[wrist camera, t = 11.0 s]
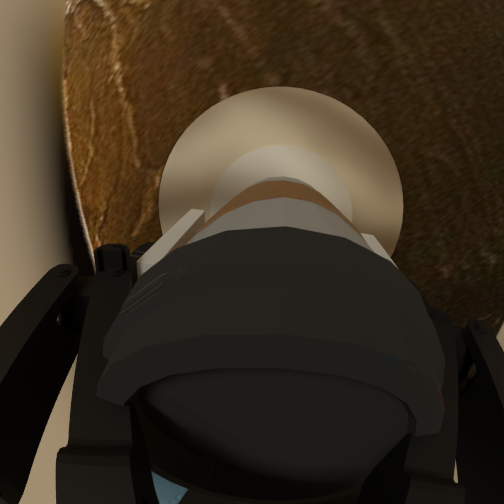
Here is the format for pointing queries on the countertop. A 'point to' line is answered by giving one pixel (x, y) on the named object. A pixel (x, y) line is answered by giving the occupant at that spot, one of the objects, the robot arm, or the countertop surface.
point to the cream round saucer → (285, 159)
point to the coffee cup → (275, 353)
